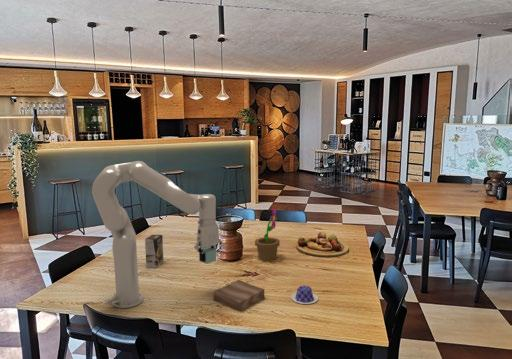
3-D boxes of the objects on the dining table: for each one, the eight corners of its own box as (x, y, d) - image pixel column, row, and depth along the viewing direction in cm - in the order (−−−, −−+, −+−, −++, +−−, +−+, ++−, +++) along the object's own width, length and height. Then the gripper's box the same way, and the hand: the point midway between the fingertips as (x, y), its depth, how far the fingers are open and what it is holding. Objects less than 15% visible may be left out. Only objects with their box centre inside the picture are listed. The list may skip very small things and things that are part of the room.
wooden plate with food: (292, 255, 221) (292, 242, 220) (299, 238, 252) (299, 226, 250) (348, 261, 214) (349, 247, 212) (348, 242, 244) (349, 230, 243)
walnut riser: (239, 311, 157) (239, 302, 156) (213, 300, 167) (213, 291, 166) (264, 297, 169) (264, 289, 168) (238, 287, 179) (238, 279, 178)
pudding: (285, 297, 170) (285, 285, 169) (306, 290, 176) (307, 280, 175) (301, 308, 160) (302, 296, 159) (323, 301, 166) (324, 289, 165)
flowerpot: (276, 264, 208) (275, 211, 204) (251, 261, 213) (250, 209, 208) (282, 255, 222) (282, 205, 217) (259, 252, 226) (259, 203, 222)
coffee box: (156, 268, 204) (155, 239, 202) (146, 267, 206) (144, 238, 203) (164, 262, 213) (162, 234, 211) (153, 261, 214) (152, 233, 212)
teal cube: (207, 263, 171) (207, 252, 170) (199, 260, 175) (199, 249, 174) (216, 260, 175) (216, 249, 174) (208, 257, 179) (208, 246, 178)
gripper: (198, 226, 163) (198, 266, 166) (226, 219, 176) (226, 256, 179) (187, 223, 168) (187, 262, 171) (215, 216, 181) (215, 252, 184)
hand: (207, 259), depth 175 cm, fingers closed on teal cube, 5 cm apart
